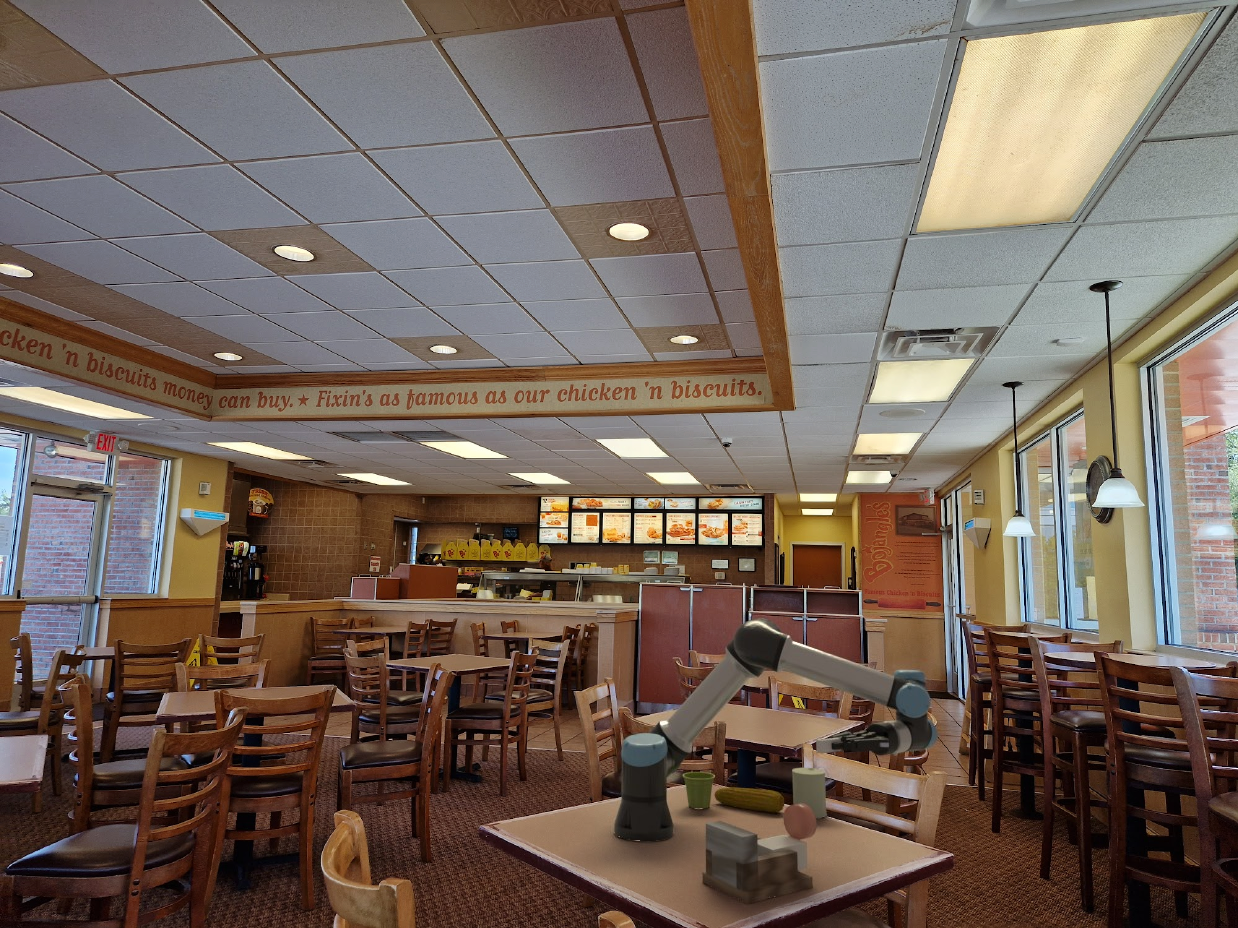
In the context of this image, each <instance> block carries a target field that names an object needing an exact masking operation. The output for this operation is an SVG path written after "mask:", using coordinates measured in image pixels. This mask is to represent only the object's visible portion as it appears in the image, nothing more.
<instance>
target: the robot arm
mask: <svg viewBox="0 0 1238 928" xmlns="http://www.w3.org/2000/svg"><path fill="white" fill-rule="evenodd" d="M766 670H770V671H773V672H776V673H781V672H784V671H785V672H788V673H790V674H793V675H796V676H799V677H802V678H805V679H808V680H810V681H812V682H815V683H816V682H817V683H819V684H821V685H825V686H827V687H829V688H834V689H836V690H839V691H841V692H845V693H847V694H849V695H853V696H855V697H859V698H861V699H864V700H865V701H869V702H872V703H875V704H878V705H881V706H883V707H886V708H889V709H891V710H894V711H895V720H889V721H880V722H873V723H870V724H869V725H868V726H867V728H866V730H860V731H857V732H856V731H855V732H853V733H852V732H851V731H849V730H845V731H844V732H841V733H837V734H836V733H835V734H833V735H832V734H831V735H829V738H821V739H816V740H815V742H816V743H815V745H816V747H815V748H816V753H817V754H828V753H839V752H842V751H843V752H847V751H850V752H851V753H857V752H872V754H874V755H876V756H880V757H881V756H887V755H888V756H889V755H893V756H898V754H900V753H907V752H916V751H917V752H921V751H924V750H928V749H930V748H933V746H934V745H935V744H936V743H937V740H938V736H939V734H938V730H937V727H936V726H935V724H934V722H933V720H931V719H929V718H928V711H929V709H930V707H931V696H930V693H929V691H927V680H926V674H925V672H924V671H921V670H916V669H897V670H895V671H894V672H893V673H894V674H890V673H886V672H884V671H880V670H878V669H875V668H872V667H868V666H865V665H863V664H860V663H857V662H854V661H852V660H848V659H845V658H842V657H841V656H840V657H839V656H837V655H835V654H831V653H828V652H825V651H822V650H820V649H816V648H814V647H811V646H808V645H806V644H802V643H801V642H796V641H794V640H792V638H791V636H790V635H789V634H786V633H782V631H781V629H780V628H779V626H778V624H776V623H774V622H773V621H771V620H769V619H765V618H755V619H751V620H748V621H747V620H746V621H745V622H743V623H742V624H741V625H739V627H738V628H737V629H736V630H735V633H734V635H733V638H732V640H731V641H730V642H729V643H728V644H727V645H726V647H725V656H724V657H723V658H722V659H721V660H720V661H719V662H718V663H717V665H716V666H715V667H714V668H713V669H712V670H711V672H710V673H709V674H708V675H707V676H705V678H704V679H703V680H702V682H700V683H699V685H698V686H697V688H695V689H694V691H693V692H692V693H691V694H690V695H689V696H688V697H687V699H686V700H685V701H684V702H683V703H682V704H681V705H680V706H679V708H678V709H676V711H675V712H674V713H673V714H672V715H671V716H670V717H669V718H668V719H660V720H659V721H658V722H657V724H656V725H655V726H654V727H653V728H652V729H651V730H650V731H649V732H648V733H647V732H644V733H643V732H642V733H637V734H630V735H629V736H627V737H625V738H624V740H623V741H622V744H621V751H620V757H621V787H620V788H621V789H620V790H621V793H620V794H621V797H620V799H621V800H620V804H619V807H618V811H617V814H616V817H615V821H614V823H613V825H614V826H613V833H614V832H615V834H616V835H617V836H616V835H615V834H614V835H615V836H616V837H618V836H620V837H622V838H624V839H623V840H626V839H630V840H629V841H631V840H640V841H639V842H641V841H651V842H657V841H656V840H660V841H664V839H665V840H667V839H670V838H672V837H673V836H674V832H675V831H674V822H673V819H672V815H671V812H670V808H669V805H668V801H667V798H668V797H667V793H668V792H667V791H668V788H667V787H668V786H667V784H668V777H669V776H671V775H672V774H674V773H675V772H677V770H678V769H679V768H680V766H681V764H682V763H683V762H684V761H685V760H686V758H687V757H688V756H689V755H690V754H691V753H692V751H693V742H694V741H695V740H696V739H697V737H698V736H699V735H700V734H701V733H702V732H703V731H704V729H706V727H707V726H708V725H709V724H710V723H711V722H712V721H713V720H714V719H715V717H716V716H717V715H718V714H719V713H720V712H721V711H722V709H724V708H725V706H726V705H727V704H728V703H729V702H730V700H732V699H733V698H734V696H735V695H736V694H737V693H738V692H739V691H740V690H741V688H743V686H744V685H745V684H746V683H747V682H748V681H749V680H750V679H756V678H757V679H758V678H759V677H760V676H761V675H762V674H763V673H764V672H765V671H766ZM620 837H619V838H620ZM622 838H621V839H622Z"/></svg>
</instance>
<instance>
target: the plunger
mask: <svg viewBox="0 0 1238 928" xmlns="http://www.w3.org/2000/svg"><path fill="white" fill-rule="evenodd" d="M783 811H784V812H783V817H782V819H783V825H784V828H785V831H786V833H787V834H788V835H786V834H780V835H775V836H771V837H766V838H761V839H760V840H758V856H763V855H767V854H772V853H776V852H781V851H786V850H793V851H796V852H797V860H798V871H799V872H800V871H803V870H807V869H808V843H807V842H806V841H803V840H805V839H810V838H812V837H814V835H815V834H816V831H817V819H816V818H815V815H814V813H813V811H812V809H811V808H810V807H809V806H808V805H806V804H803V803H801V804H795V805H793V804H790V805H788V806H787V807H785V810H783Z"/></svg>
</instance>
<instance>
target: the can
mask: <svg viewBox="0 0 1238 928" xmlns="http://www.w3.org/2000/svg"><path fill="white" fill-rule="evenodd" d="M791 772H792V773H791V774H792V794H793V795H792V799H793V802H792V803H793V804H792V805H795V804H801V803H803V804H806V805H808V806H809V807H810V808H811V809H812V811H813V813H814V815H815V818H816V820H819V819H823V818H822V817H823V816H824V818H826V817H827V816H828V813H827V802H826V801H827V800H826V796H827V795H826V771H825V770H823V769H819V768H814V767H796V768H792V770H791ZM817 818H818V819H817Z"/></svg>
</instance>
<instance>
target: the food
mask: <svg viewBox="0 0 1238 928" xmlns="http://www.w3.org/2000/svg"><path fill="white" fill-rule="evenodd" d="M714 798H715V800H716V801H718V803H720V804H722V805H727V806H729V805H730V807H734V806H735V807H734V808H738V807H739V809H743V808H744V809H743V810H747V811H748V810H749V811H757V812H762V813H763V812H764V813H772V814H773V813H774V814H775V813H776V814H777V813H780V812H781V811H782V810H783V809H784V807H785V798H784V796H782V794H781V793H779V792H778V791H774V790H770V789H758V788H757V789H756V788H748V787H747V788H746V787H735V786H734V787H733V786H732V787H730V786H729V787H721V788H718V789H716V790H715V792H714Z"/></svg>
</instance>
